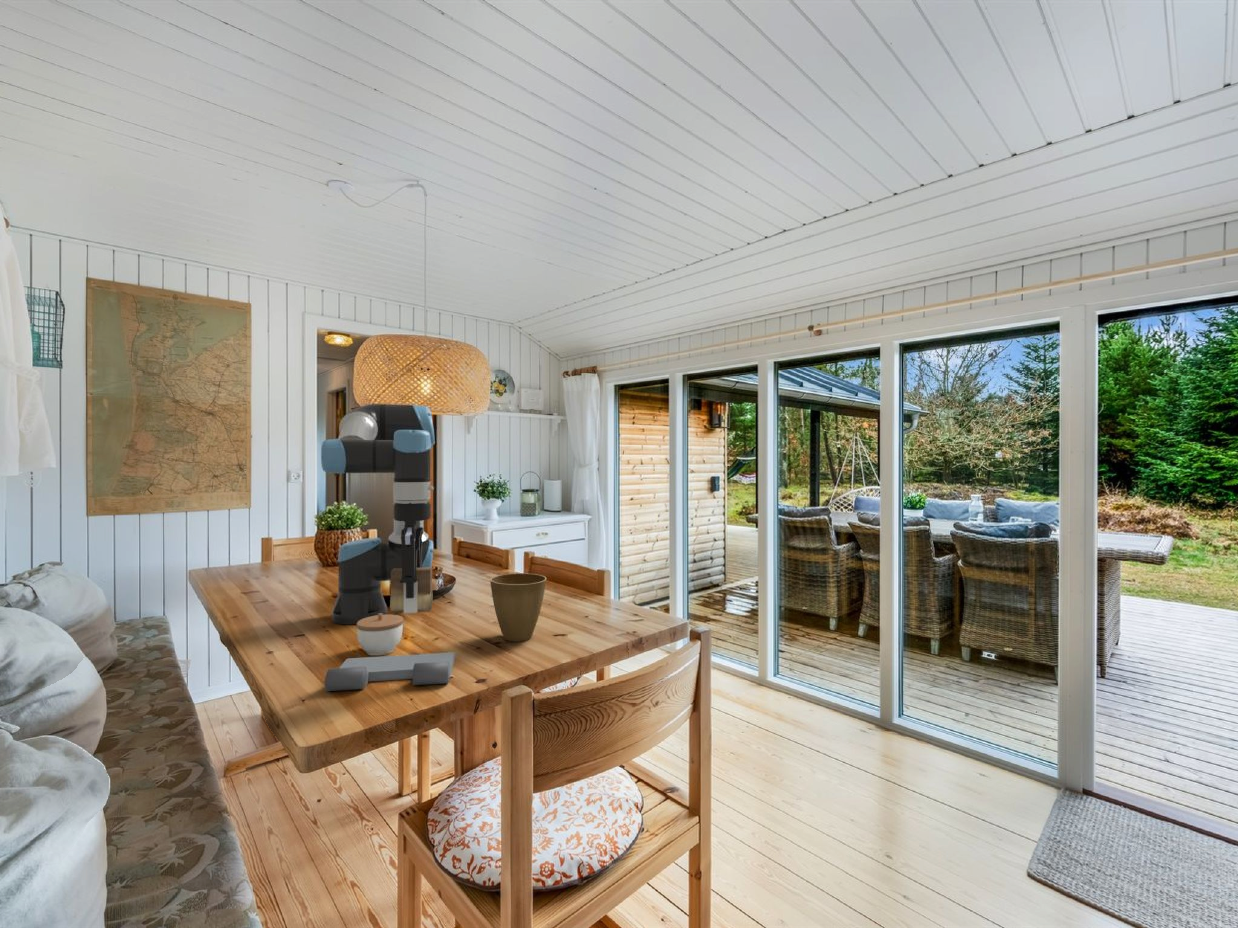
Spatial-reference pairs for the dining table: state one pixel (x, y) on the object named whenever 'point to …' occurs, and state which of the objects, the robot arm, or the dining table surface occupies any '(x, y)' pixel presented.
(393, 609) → the taupe rectangular chunk
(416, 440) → the robot arm
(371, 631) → the lidded jar
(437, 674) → the grey hinge leaf
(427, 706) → the dining table surface
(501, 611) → the plant pot
